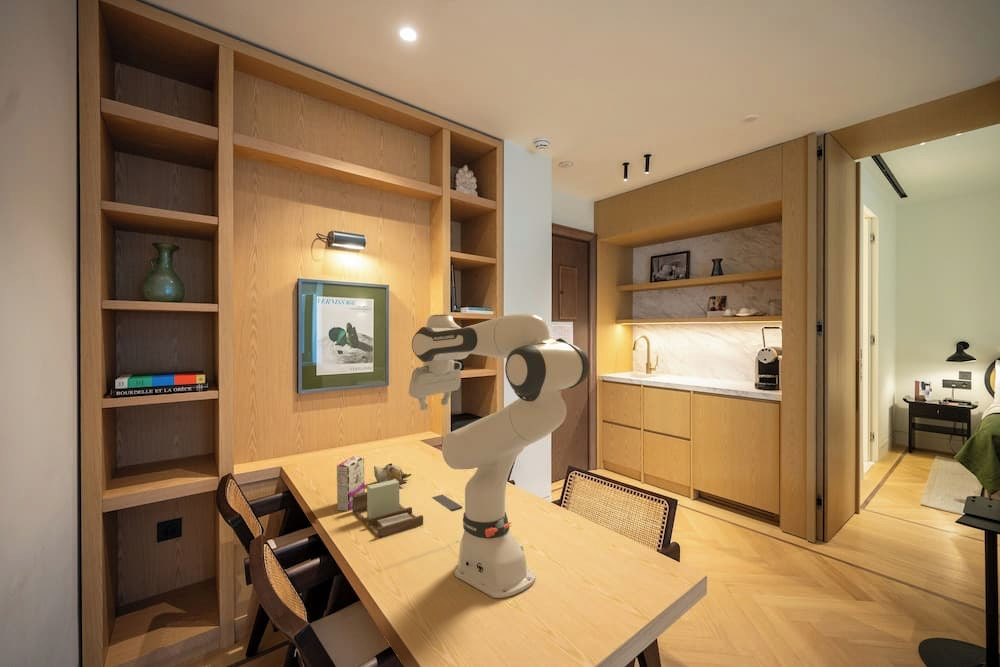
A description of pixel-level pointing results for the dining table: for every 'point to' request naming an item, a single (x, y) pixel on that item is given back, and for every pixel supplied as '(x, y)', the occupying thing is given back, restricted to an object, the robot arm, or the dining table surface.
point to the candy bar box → (349, 482)
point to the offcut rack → (361, 506)
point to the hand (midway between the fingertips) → (434, 407)
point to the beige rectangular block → (382, 498)
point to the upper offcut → (393, 519)
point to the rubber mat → (447, 502)
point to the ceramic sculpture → (390, 474)
